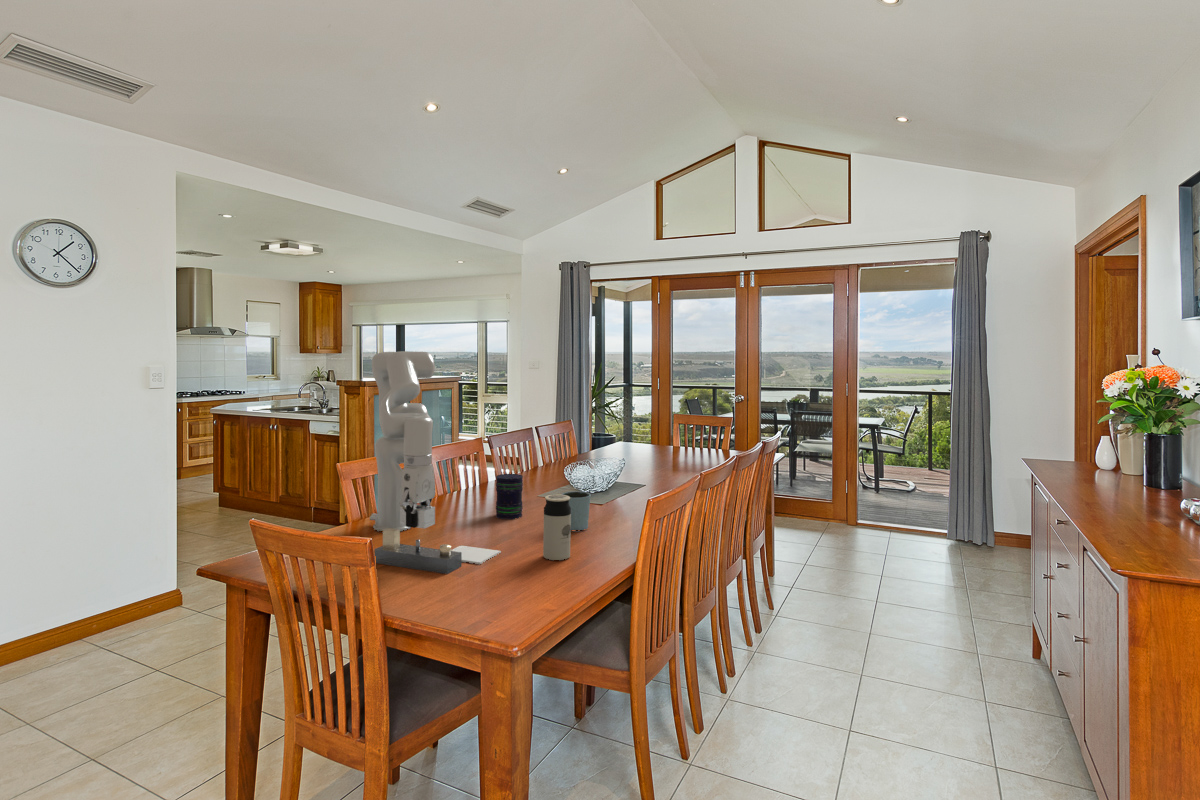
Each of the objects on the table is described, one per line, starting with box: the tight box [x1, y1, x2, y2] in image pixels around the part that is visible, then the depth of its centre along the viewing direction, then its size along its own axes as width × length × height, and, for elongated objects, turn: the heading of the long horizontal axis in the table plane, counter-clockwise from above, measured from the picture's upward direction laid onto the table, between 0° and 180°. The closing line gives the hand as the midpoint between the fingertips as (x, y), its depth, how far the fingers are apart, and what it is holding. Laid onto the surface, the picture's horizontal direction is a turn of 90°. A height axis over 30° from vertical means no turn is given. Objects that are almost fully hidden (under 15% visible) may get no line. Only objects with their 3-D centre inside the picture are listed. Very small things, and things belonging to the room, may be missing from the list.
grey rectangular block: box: [400, 504, 436, 530], centre depth 180 cm, size 8×5×5 cm, turn 70°
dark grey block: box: [374, 528, 463, 575], centre depth 181 cm, size 24×7×9 cm, turn 70°
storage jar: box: [495, 473, 524, 520], centre depth 238 cm, size 10×10×15 cm
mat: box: [451, 545, 502, 565], centre depth 190 cm, size 14×12×1 cm
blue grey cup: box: [560, 490, 592, 530], centre depth 222 cm, size 10×10×12 cm
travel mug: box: [542, 494, 572, 561], centre depth 190 cm, size 8×8×18 cm
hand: (417, 523), depth 181 cm, fingers closed on grey rectangular block, 5 cm apart
